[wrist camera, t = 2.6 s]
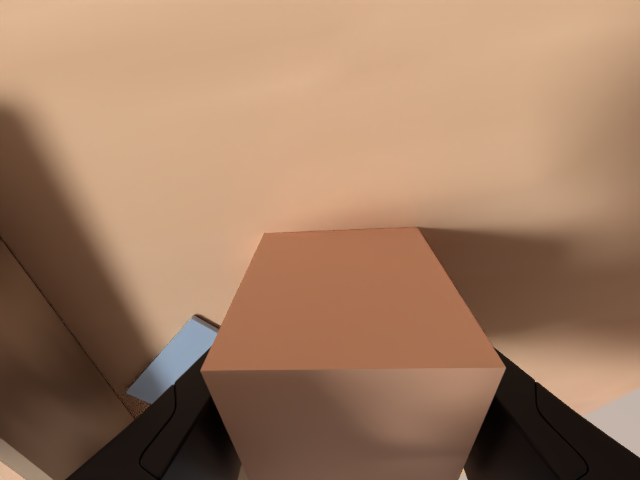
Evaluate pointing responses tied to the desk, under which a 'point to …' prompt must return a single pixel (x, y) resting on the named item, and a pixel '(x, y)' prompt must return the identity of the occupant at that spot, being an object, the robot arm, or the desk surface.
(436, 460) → the cube
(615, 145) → the desk surface
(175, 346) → the pad
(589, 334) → the desk surface
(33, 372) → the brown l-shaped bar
